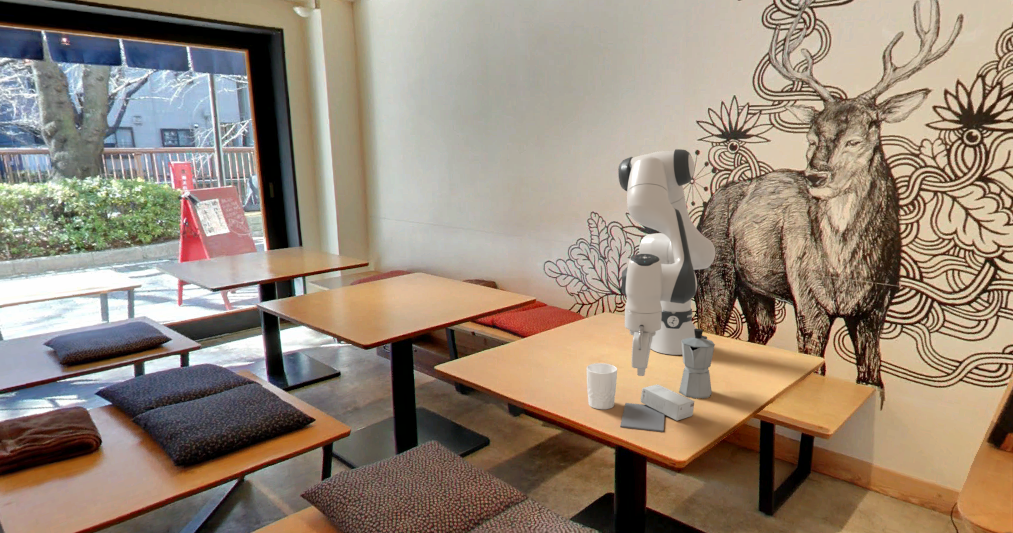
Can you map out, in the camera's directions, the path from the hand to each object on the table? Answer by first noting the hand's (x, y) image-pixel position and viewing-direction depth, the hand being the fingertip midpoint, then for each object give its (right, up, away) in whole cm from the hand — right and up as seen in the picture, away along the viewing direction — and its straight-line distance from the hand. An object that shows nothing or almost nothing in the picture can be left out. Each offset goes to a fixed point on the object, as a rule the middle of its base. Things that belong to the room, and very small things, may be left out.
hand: (641, 374), depth 147 cm
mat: (0, -11, -1) cm, 11 cm away
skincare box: (+3, -6, +7) cm, 10 cm away
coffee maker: (+19, -8, +15) cm, 25 cm away
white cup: (-9, -9, +7) cm, 15 cm away
